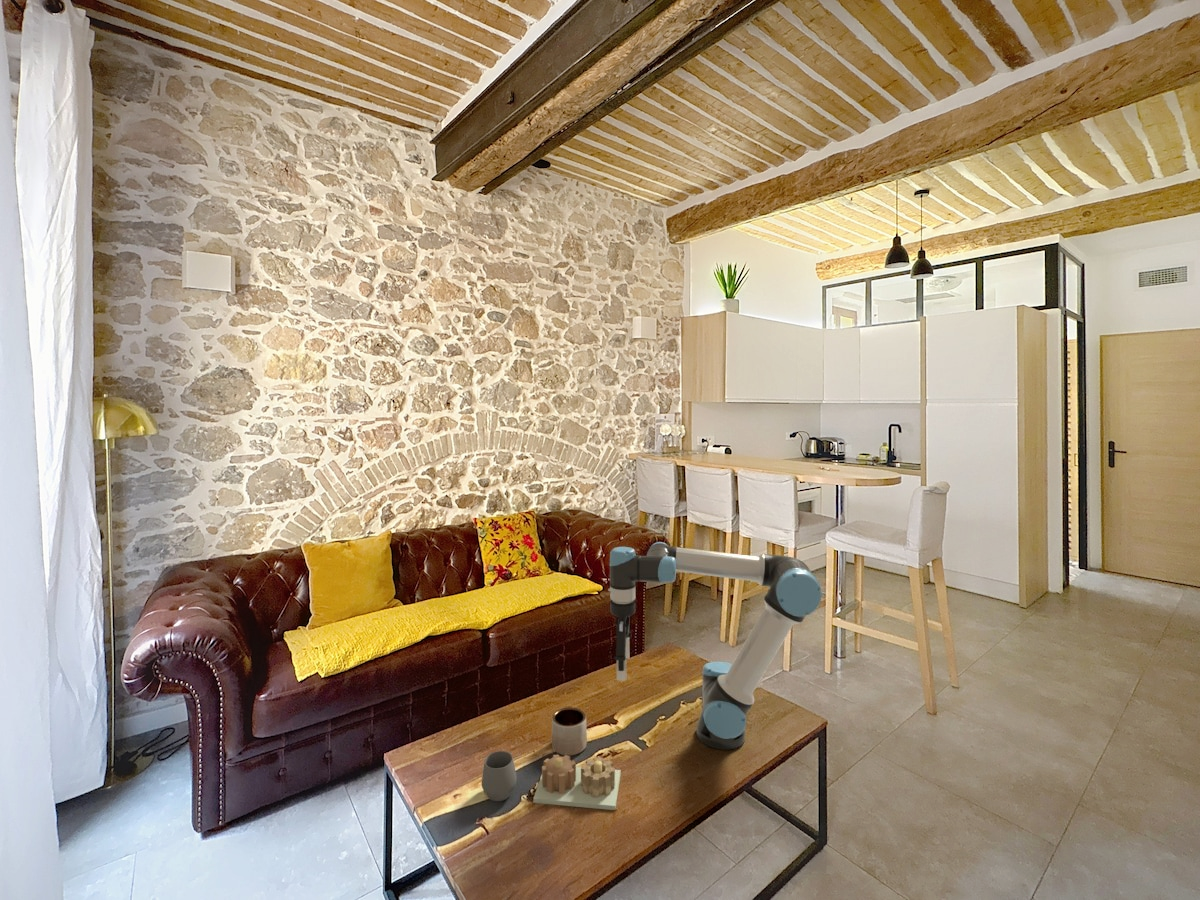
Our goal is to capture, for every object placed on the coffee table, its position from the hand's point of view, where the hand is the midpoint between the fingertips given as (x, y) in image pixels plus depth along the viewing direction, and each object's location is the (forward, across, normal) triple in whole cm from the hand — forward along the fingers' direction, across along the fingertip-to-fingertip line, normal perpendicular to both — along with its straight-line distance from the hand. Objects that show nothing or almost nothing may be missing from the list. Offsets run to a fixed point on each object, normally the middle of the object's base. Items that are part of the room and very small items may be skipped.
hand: (623, 668), depth 163 cm
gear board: (+26, +17, -11) cm, 33 cm away
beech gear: (+25, +17, -6) cm, 31 cm away
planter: (+27, -2, -17) cm, 32 cm away
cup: (+27, +21, -32) cm, 47 cm away
